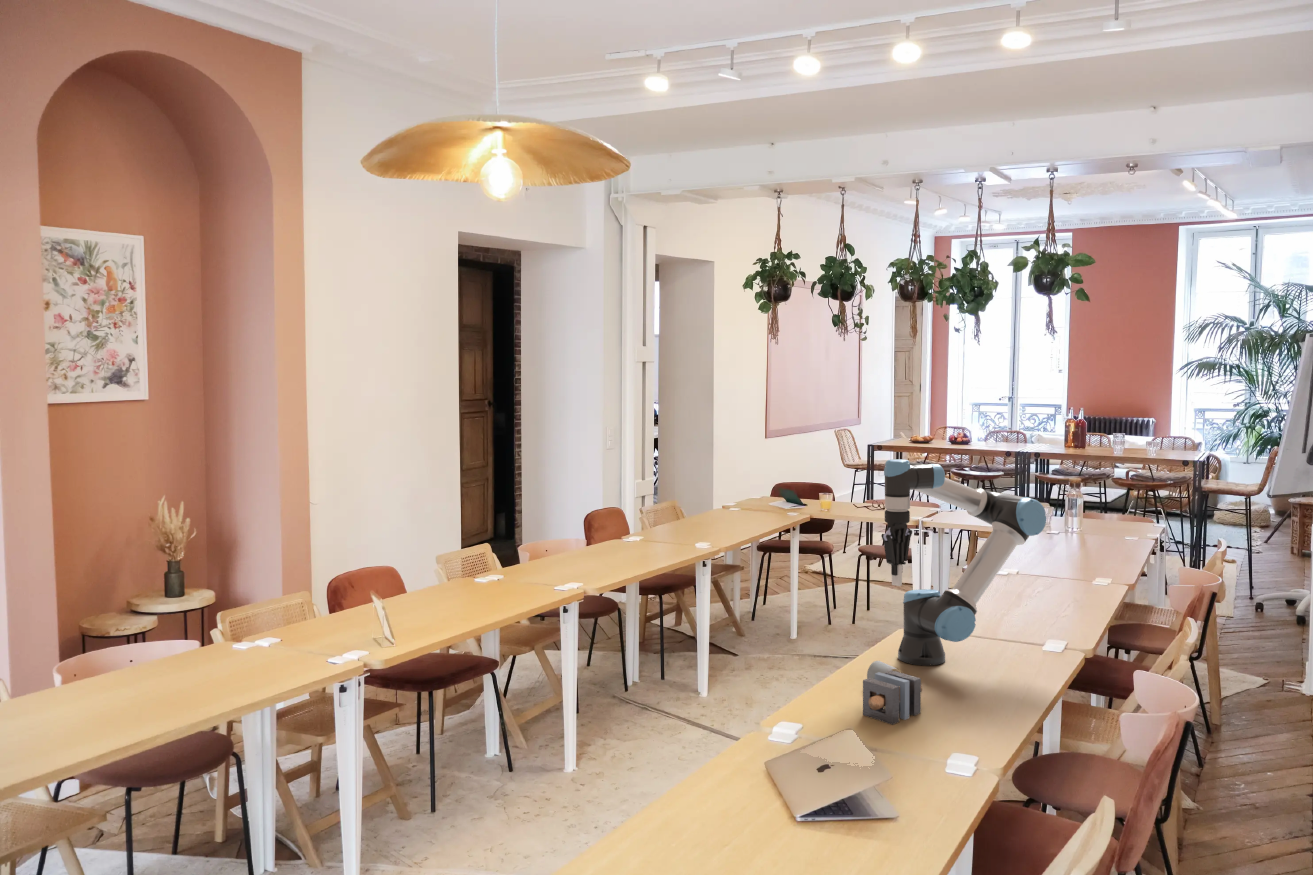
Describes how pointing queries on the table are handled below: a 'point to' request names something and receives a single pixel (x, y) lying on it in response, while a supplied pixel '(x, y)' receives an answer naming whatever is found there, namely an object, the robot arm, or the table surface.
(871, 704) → the air tube
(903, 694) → the aperture arch
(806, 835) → the table surface
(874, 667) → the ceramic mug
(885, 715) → the collar
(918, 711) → the square frame
